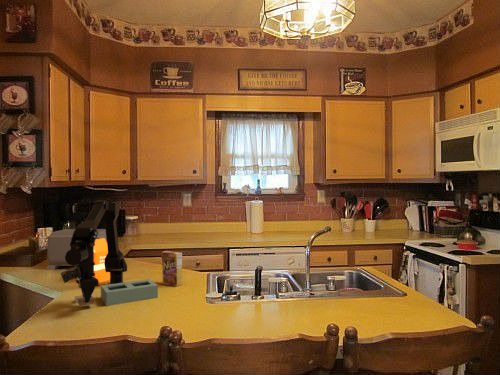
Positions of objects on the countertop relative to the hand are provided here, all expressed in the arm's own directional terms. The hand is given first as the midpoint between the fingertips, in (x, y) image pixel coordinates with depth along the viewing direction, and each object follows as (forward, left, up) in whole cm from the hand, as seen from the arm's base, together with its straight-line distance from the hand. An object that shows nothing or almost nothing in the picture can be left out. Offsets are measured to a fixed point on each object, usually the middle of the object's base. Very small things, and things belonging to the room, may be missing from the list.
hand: (86, 300), depth 142 cm
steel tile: (-10, 0, -3) cm, 10 cm away
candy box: (-14, +39, -3) cm, 42 cm away
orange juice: (-41, +11, -3) cm, 43 cm away
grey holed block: (-4, +17, -3) cm, 18 cm away
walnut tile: (0, 0, -1) cm, 1 cm away
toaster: (-79, +10, -3) cm, 80 cm away
